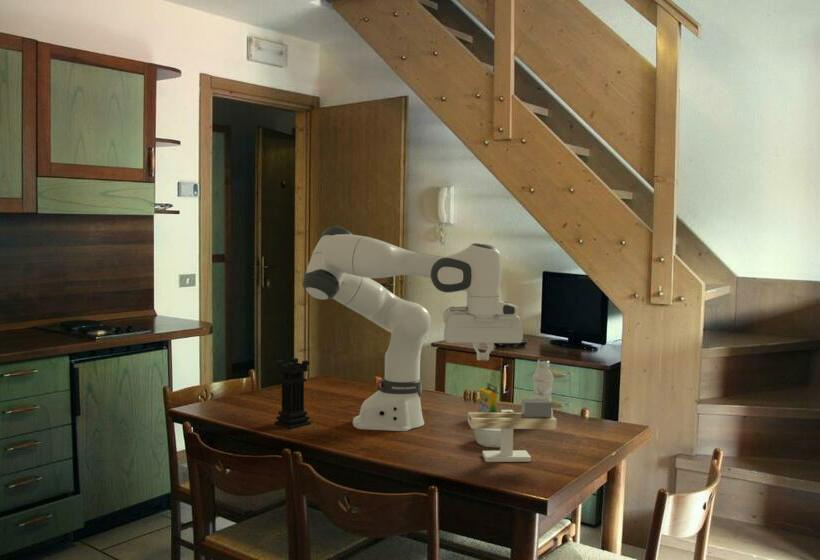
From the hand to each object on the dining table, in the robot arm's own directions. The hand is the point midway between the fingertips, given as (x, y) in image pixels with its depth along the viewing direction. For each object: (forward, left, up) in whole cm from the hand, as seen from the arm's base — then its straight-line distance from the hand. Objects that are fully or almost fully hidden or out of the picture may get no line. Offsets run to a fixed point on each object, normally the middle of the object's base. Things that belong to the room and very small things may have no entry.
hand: (482, 360), depth 194 cm
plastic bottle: (+27, +42, -28) cm, 57 cm away
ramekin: (+7, +20, -28) cm, 35 cm away
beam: (+8, 0, -17) cm, 19 cm away
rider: (+14, 0, -16) cm, 21 cm away
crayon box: (+10, +45, -28) cm, 54 cm away
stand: (+8, +5, -28) cm, 29 cm away
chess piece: (-52, +42, -28) cm, 73 cm away
